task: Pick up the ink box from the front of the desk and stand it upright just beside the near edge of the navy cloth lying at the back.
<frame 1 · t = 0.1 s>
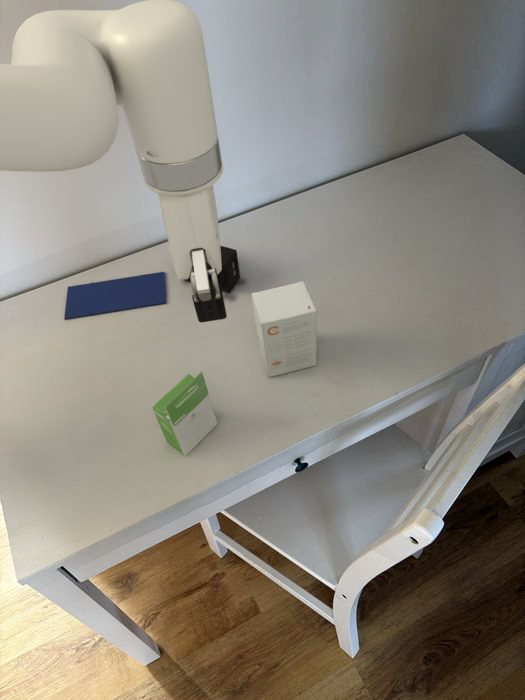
hand: (209, 288, 63), 24 cm above the table, tool pointing down, fingers open, 9 cm apart
ink box: (193, 433, 79), on the table
small box: (287, 357, 86), on the table
cloth: (116, 295, 97), on the table
digital camera: (208, 281, 98), on the table
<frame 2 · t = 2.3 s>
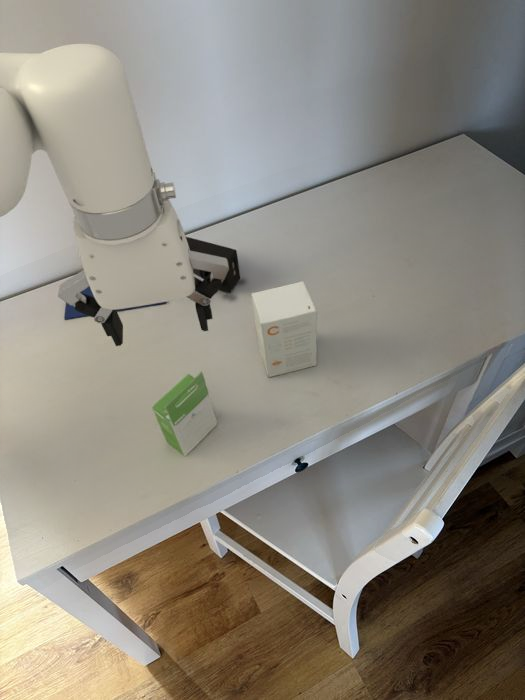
hand: (162, 329, 60), 23 cm above the table, tool pointing down, fingers open, 9 cm apart
nothing on the table moved.
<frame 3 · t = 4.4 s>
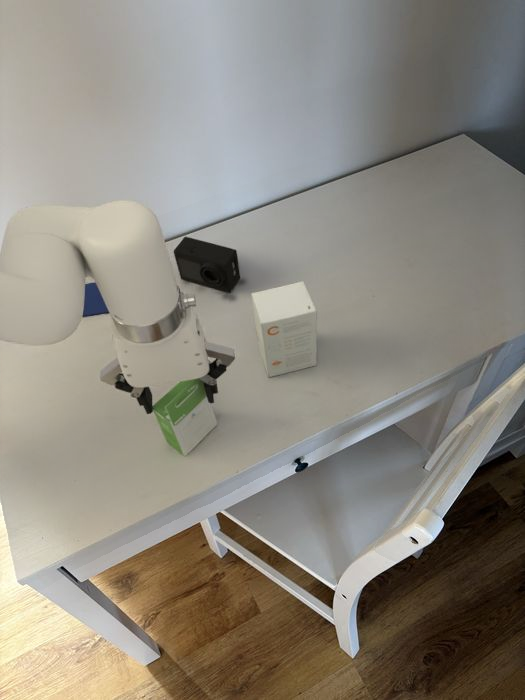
hand: (180, 399, 71), 9 cm above the table, tool pointing down, fingers closed on ink box, 7 cm apart
ink box: (193, 433, 79), on the table, touching gripper
everything else where it was.
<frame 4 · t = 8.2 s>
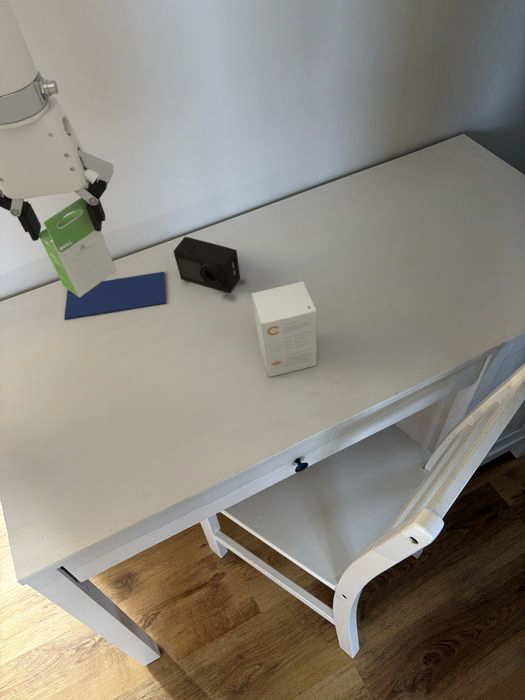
hand: (68, 228, 71), 25 cm above the table, tool pointing down, fingers closed on ink box, 7 cm apart
ink box: (91, 280, 78), point 15 cm above the table, touching gripper
everything else where it was.
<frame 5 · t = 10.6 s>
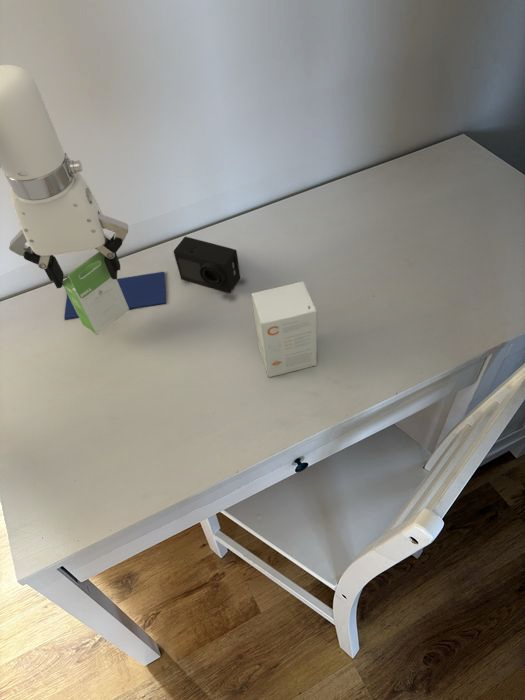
hand: (87, 276, 80), 14 cm above the table, tool pointing down, fingers closed on ink box, 7 cm apart
ink box: (107, 318, 88), point 4 cm above the table, touching gripper
everything else where it was.
when the fingers open (9 cm above the table, at t = 12.4 s): ink box stays where it is, on the table.
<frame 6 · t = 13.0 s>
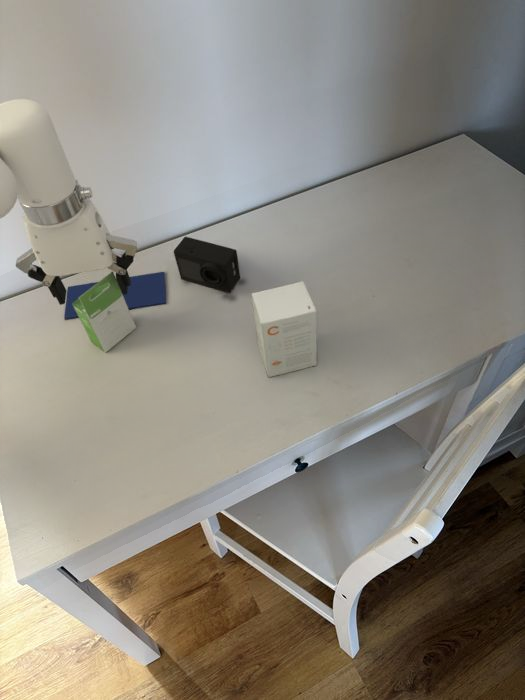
hand: (94, 293, 83), 10 cm above the table, tool pointing down, fingers open, 9 cm apart
ink box: (114, 336, 91), on the table
everything else where it was.
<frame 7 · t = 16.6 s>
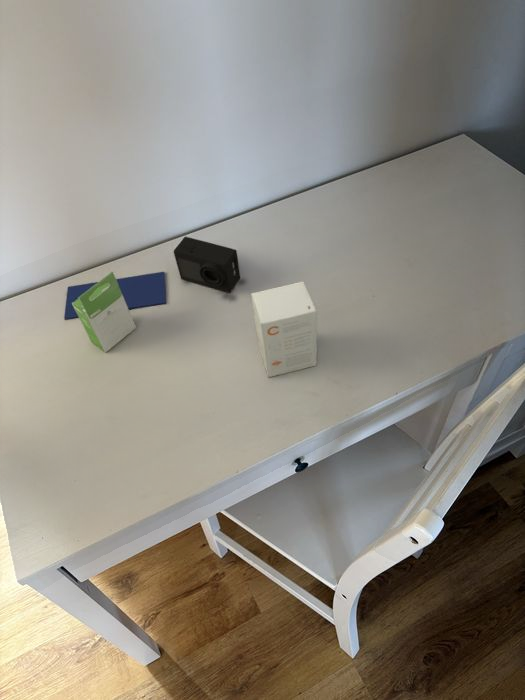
nothing on the table moved.
at the end: ink box inside the target area on the table beside the cloth (2.3 cm from its centre), on the table; ink box tilted 0°; the gripper is holding nothing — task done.
